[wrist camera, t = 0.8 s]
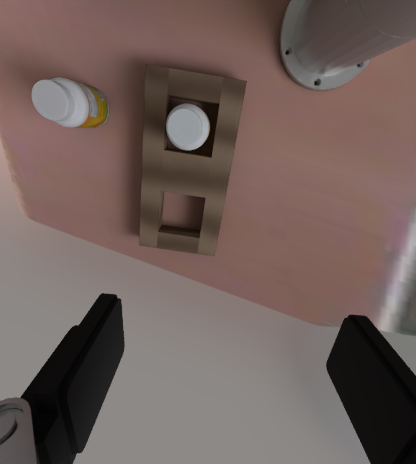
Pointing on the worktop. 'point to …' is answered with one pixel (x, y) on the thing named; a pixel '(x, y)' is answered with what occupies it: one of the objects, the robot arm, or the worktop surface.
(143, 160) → the bottle rack
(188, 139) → the supplement bottle
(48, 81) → the supplement bottle
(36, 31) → the worktop surface
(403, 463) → the robot arm
